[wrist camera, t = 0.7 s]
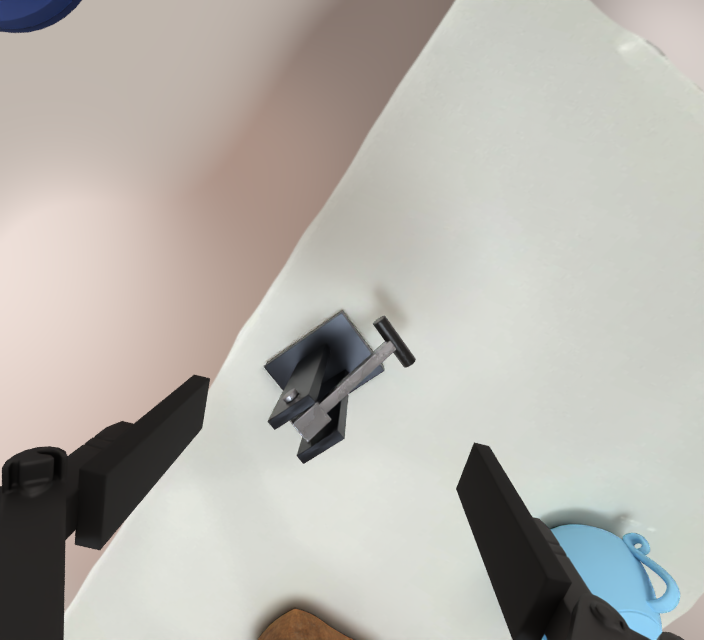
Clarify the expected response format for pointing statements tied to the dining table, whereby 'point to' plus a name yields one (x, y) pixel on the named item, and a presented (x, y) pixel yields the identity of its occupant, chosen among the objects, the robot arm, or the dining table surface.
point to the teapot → (619, 574)
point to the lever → (352, 380)
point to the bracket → (318, 378)
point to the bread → (300, 628)
